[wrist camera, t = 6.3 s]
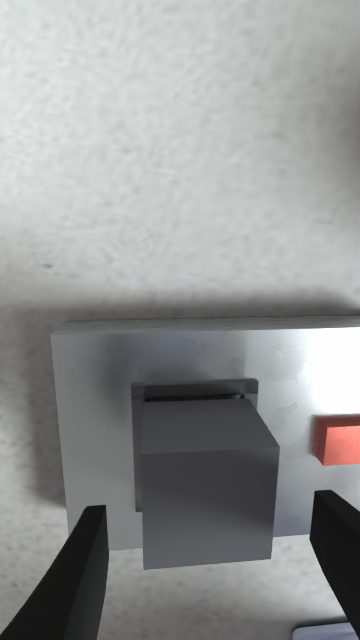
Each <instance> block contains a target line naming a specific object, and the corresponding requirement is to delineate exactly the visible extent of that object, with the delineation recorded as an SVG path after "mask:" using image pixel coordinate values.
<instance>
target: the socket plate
mask: <svg viewBox="0 0 360 640" xmlns="http://www.w3.org/2000/svg"><path fill="white" fill-rule="evenodd" d="M50 340H51V351H52V362H53V372H54V383H55V393H56V404H57V415H58V425H59V436H60V446H61V457H62V467H63V478H64V489H65V499H66V510H67V520H68V531H69V536H70V534H71V532H72V531H73V529H74V527H75V525H76V524H77V522H78V520H79V518H80V516H81V514H82V512H83V510H84V509H85V508H86V507H87V506H93V505H106V513H107V530H108V547H109V551H111V550H123V549H135V548H143V527H142V491H141V455H140V454H141V433H142V411H143V403H144V402H169V401H195V400H220V399H245V398H249V399H250V401H251V403H252V404H253V406H254V407H255V409H256V410H257V412H258V413H259V415H260V416H261V418H262V420H263V421H264V423H265V424H266V426H267V427H268V429H269V430H270V432H271V434H272V435H273V437H274V438H275V440H276V441H277V443H278V444H279V446H280V455H279V467H278V479H277V491H276V503H275V516H274V528H273V537H281V536H293V535H305V534H310V529H311V520H312V510H313V500H314V491H317V490H333V491H334V492H335V493H337V494H338V495H339V496H341V497H342V498H343V499H344V500H346V501H347V502H348V503H350V504H351V505H352V506H353V507H355V508H356V509H357V510H358V511H360V315H339V316H290V317H242V318H193V319H144V320H95V321H65V322H64V323H63V324H62V325H61V326H60V327H58V328H57V329H56V330H55V331H54V332H53V333H52V334H51V335H50Z"/></svg>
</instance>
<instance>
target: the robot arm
mask: <svg viewBox="0 0 360 640" xmlns="http://www.w3.org/2000/svg"><path fill="white" fill-rule="evenodd" d="M310 542H311V544H312V547H313V549H314V552H315V554H316V557H317V559H318V562H319V564H320V566H321V569H322V571H323V573H324V575H325V577H326V579H327V581H328V583H329V585H330V587H331V588H332V590H333V592H334V594H335V596H336V598H337V600H338V602H339V603H340V605H341V607H342V609H343V611H344V613H345V615H346V616H347V618H348V620H349V622H348V623H338V624H329V625H320V626H311V627H302V628H297V629H296V630H295V631H294V632H293V636H292V640H360V511H358V510H357V509H356V508H355V507H353V506H352V505H351V504H350V503H348V502H347V501H346V500H344V499H343V498H342V497H341V496H339V495H338V494H337V493H335V492H334V491H333V490H317V491H314V500H313V510H312V520H311V529H310ZM108 561H109V547H108V530H107V513H106V505H93V506H87V507H86V508H85V509H84V510H83V512H82V514H81V516H80V518H79V520H78V522H77V524H76V525H75V527H74V529H73V531H72V532H71V534H70V536H69V537H68V539H67V541H66V543H65V544H64V546H63V547H62V549H61V551H60V552H59V554H58V555H57V557H56V559H55V560H54V562H53V563H52V565H51V566H50V568H49V569H48V571H47V572H46V574H45V575H44V577H43V578H42V580H41V581H40V583H39V584H38V585H37V587H36V588H35V590H34V591H33V593H32V594H31V595H30V597H29V598H28V600H27V601H26V602H25V604H24V605H23V606H22V608H21V609H20V610H19V612H18V613H17V614H16V616H15V617H14V618H13V620H12V621H11V622H10V623H9V625H8V626H7V627H6V628H5V630H4V631H3V632H2V634H1V635H0V640H97V634H98V629H99V624H100V619H101V613H102V608H103V603H104V597H105V591H106V581H107V571H108Z"/></svg>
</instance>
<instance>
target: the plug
mask: <svg viewBox="0 0 360 640" xmlns="http://www.w3.org/2000/svg"><path fill="white" fill-rule="evenodd" d="M140 455H141V491H142V527H143V562H144V570H147V569H159V568H170V567H182V566H194V565H206V564H218V563H229V562H241V561H253V560H265V559H271V552H272V540H273V528H274V516H275V503H276V491H277V479H278V467H279V455H280V446H279V444H278V443H277V441H276V440H275V438H274V437H273V435H272V434H271V432H270V430H269V429H268V427H267V426H266V424H265V423H264V421H263V420H262V418H261V416H260V415H259V413H258V412H257V410H256V409H255V407H254V406H253V404H252V403H251V401H250V399H249V398H245V399H220V400H195V401H169V402H144V403H143V411H142V433H141V454H140Z"/></svg>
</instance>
